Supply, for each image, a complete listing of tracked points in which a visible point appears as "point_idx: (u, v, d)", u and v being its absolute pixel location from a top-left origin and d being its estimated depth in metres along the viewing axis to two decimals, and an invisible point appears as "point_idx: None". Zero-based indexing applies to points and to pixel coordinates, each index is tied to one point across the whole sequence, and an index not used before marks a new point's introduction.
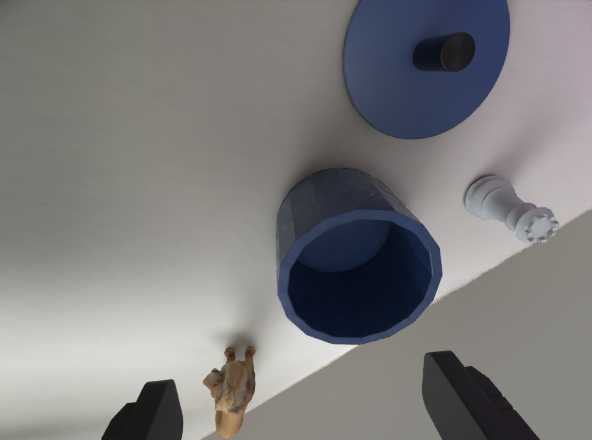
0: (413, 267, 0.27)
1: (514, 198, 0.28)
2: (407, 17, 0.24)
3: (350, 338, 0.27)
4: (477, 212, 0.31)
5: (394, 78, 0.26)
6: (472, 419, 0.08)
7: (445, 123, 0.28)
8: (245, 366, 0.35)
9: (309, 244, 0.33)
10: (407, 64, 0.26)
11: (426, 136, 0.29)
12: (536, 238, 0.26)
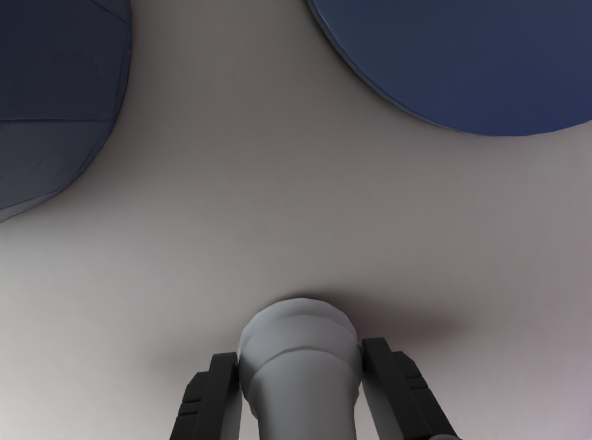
0: None
1: (349, 425, 0.08)
2: None
3: None
4: (246, 365, 0.10)
5: None
6: (385, 395, 0.08)
7: (410, 75, 0.08)
8: None
9: None
10: None
11: (345, 45, 0.08)
12: None
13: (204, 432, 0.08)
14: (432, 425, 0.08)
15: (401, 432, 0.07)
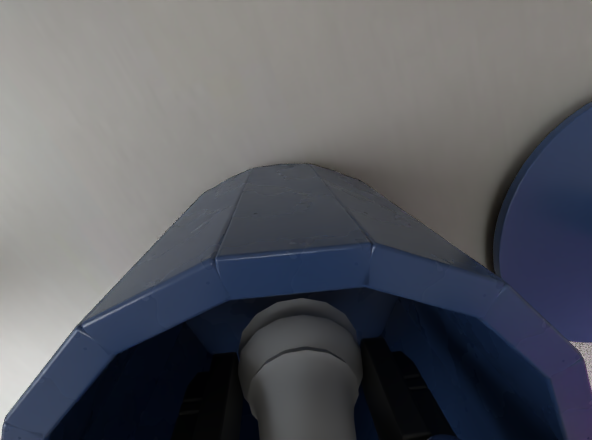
0: None
1: (349, 425, 0.08)
2: None
3: None
4: (246, 366, 0.10)
5: (587, 205, 0.15)
6: (385, 395, 0.08)
7: (548, 320, 0.17)
8: None
9: None
10: None
11: None
12: None
13: (205, 432, 0.08)
14: (431, 425, 0.08)
15: (400, 432, 0.07)
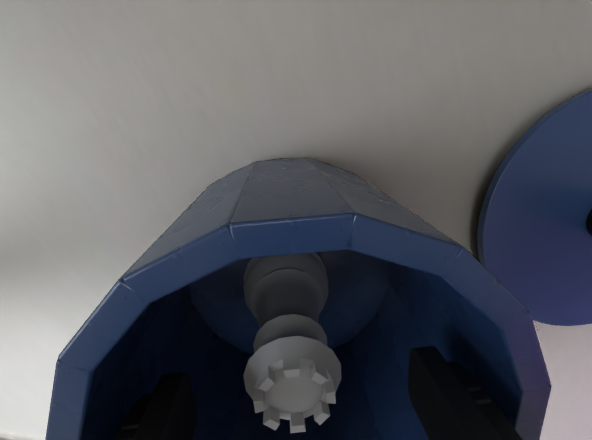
0: None
1: (314, 308, 0.13)
2: None
3: None
4: (250, 281, 0.15)
5: (563, 197, 0.16)
6: (451, 411, 0.08)
7: (529, 304, 0.18)
8: None
9: None
10: (587, 201, 0.16)
11: None
12: (268, 405, 0.10)
13: None
14: None
15: None
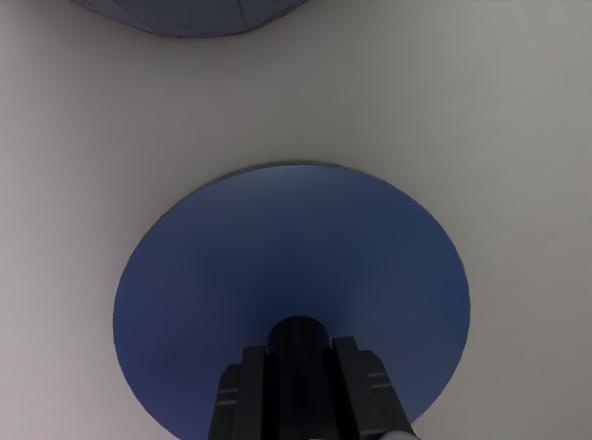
0: None
1: None
2: None
3: None
4: None
5: (330, 275, 0.11)
6: (347, 393, 0.08)
7: (147, 273, 0.11)
8: None
9: None
10: (322, 309, 0.12)
11: (161, 223, 0.10)
12: None
13: (245, 420, 0.08)
14: (391, 422, 0.08)
15: (358, 429, 0.07)
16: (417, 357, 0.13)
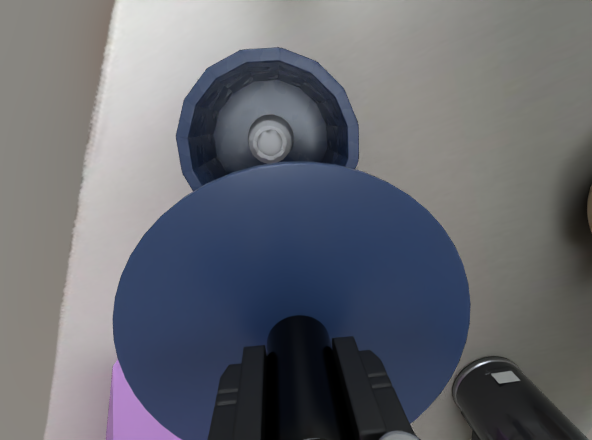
0: (208, 176, 0.25)
1: None
2: None
3: (226, 71, 0.20)
4: (279, 119, 0.29)
5: (330, 275, 0.11)
6: (347, 393, 0.08)
7: (147, 272, 0.11)
8: None
9: (285, 107, 0.30)
10: (322, 309, 0.12)
11: (161, 222, 0.10)
12: (262, 131, 0.23)
13: (245, 420, 0.08)
14: (391, 422, 0.08)
15: (358, 428, 0.07)
16: (417, 356, 0.13)
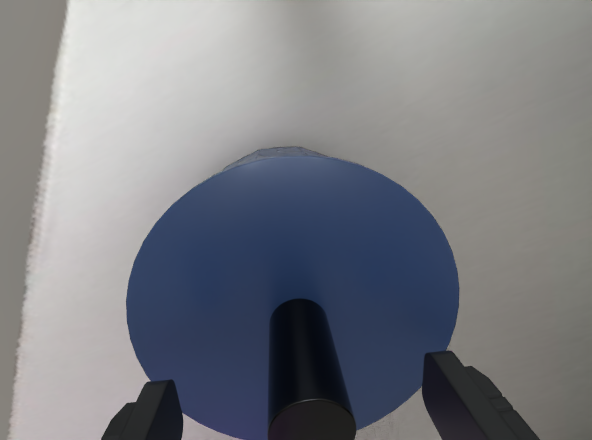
0: None
1: None
2: (370, 342, 0.13)
3: None
4: None
5: (329, 260, 0.12)
6: (472, 419, 0.08)
7: (158, 257, 0.12)
8: None
9: None
10: (321, 292, 0.13)
11: (172, 210, 0.11)
12: None
13: None
14: None
15: None
16: (410, 338, 0.14)
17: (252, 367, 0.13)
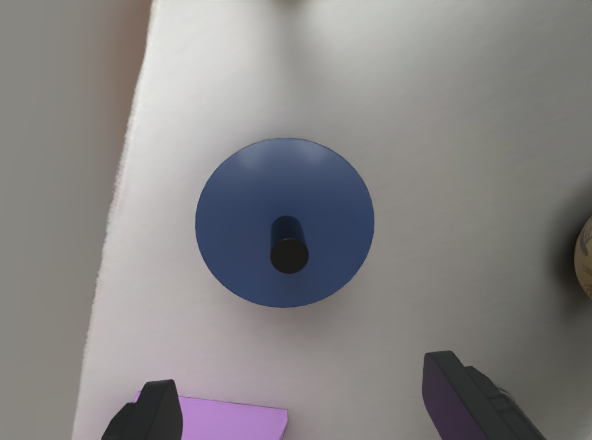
0: None
1: None
2: (326, 242, 0.24)
3: None
4: None
5: (302, 194, 0.23)
6: (472, 419, 0.08)
7: (213, 191, 0.23)
8: None
9: None
10: (298, 212, 0.24)
11: (222, 166, 0.22)
12: None
13: None
14: None
15: None
16: (348, 241, 0.25)
17: (261, 256, 0.24)
